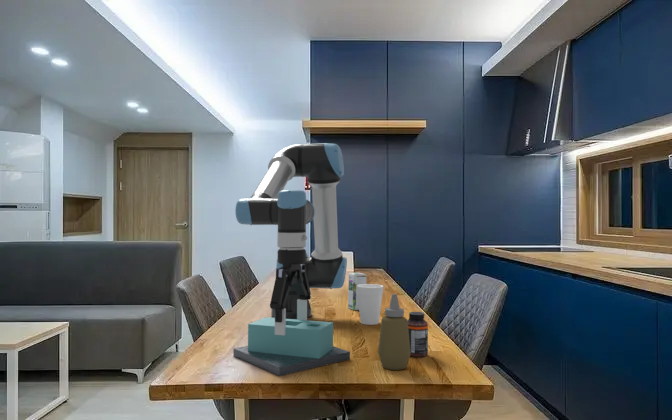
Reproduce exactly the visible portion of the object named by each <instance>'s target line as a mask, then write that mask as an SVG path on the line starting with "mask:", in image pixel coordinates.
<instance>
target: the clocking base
mask: <svg viewBox="0 0 672 420" xmlns="http://www.w3.org/2000/svg"><path fill="white" fill-rule="evenodd" d="M232 352H233V354H232V355H233V357H235V358H237V359H239V360H242V361H244V362H246V363H249V364H251V365H252V366H256V367H258V368H260V369H262V370H265V371H267V372H269V373H270V374H271V373H272V374H274V375H276V376H278V377H281V376H286V375H289V374H294V373H299V372H303V371H306V370H310V369H311V370H312V369H315V368H319V367H323V366H327V364H328V365H331V363H332V364H336V363H335V362H337V363H339V362H340V361H341V362H344V361H350V360H351V351H349V350H346V349H343V348H339V347H336V346H334V345H333V349H332V350H331V351H329V352H328V353H326V354H325V355H323V356H322V357H321V358H319V359H318V358H309V357H299V356H290V355H281V354H271V353H262V352H253V351H248V345H245V346H241V347H234V348H233V351H232ZM341 362H340V363H341Z"/></svg>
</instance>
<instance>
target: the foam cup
mask: <svg viewBox="0 0 672 420" xmlns="http://www.w3.org/2000/svg"><path fill="white" fill-rule="evenodd" d="M356 293H357V297H358V305H359V310H358V312H359V313H358V314H359V320H360V323H361V324H362V325H373V326H374V325H378V324H379V322H380V316H381V308H382V300H383V294H384V285H383V284H376V283H366V284H361V285H357V286H356Z"/></svg>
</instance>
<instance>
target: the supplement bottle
mask: <svg viewBox="0 0 672 420" xmlns="http://www.w3.org/2000/svg"><path fill="white" fill-rule="evenodd" d="M408 315H409V316H408V319H407V321H408V331H409V341H410V352H411V353H410V357H414V358H424V357H425V356H426V357H427V356H428V354H429V353H428V352H429V335H428V334H429V333H428V332H429V324H428V321H426V320H425V313H424V312H422V311H410V312H409V313H408Z"/></svg>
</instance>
